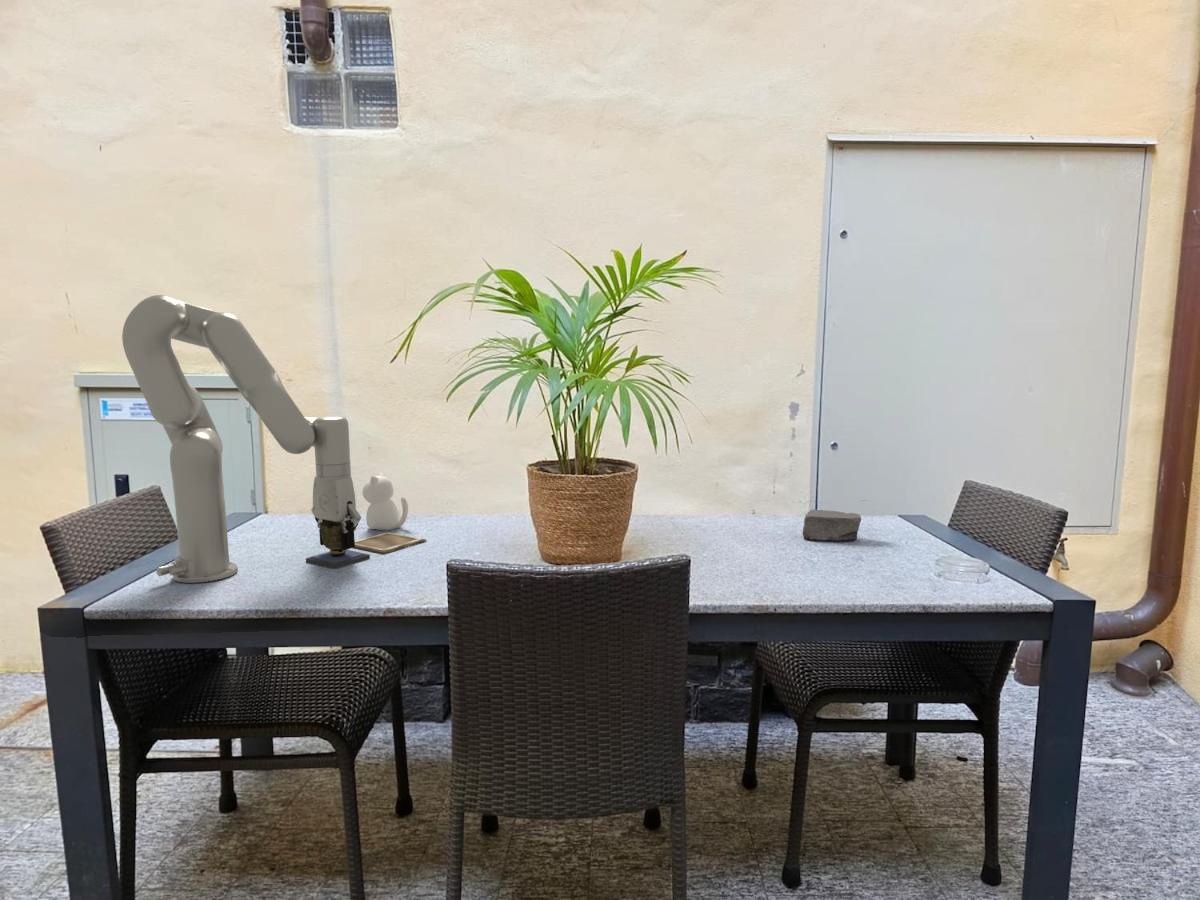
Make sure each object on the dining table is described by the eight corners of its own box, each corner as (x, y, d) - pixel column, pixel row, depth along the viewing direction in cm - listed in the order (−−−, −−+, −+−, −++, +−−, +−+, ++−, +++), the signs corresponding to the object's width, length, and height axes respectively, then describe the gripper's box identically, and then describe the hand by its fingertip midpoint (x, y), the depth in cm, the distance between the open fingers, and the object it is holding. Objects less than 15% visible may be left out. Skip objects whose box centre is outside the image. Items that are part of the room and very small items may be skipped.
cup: (359, 551, 183) (358, 518, 182) (346, 559, 176) (345, 525, 174) (329, 550, 184) (327, 517, 182) (315, 559, 176) (313, 524, 175)
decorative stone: (795, 535, 202) (806, 543, 193) (796, 509, 202) (807, 516, 192) (850, 535, 203) (865, 543, 193) (851, 509, 202) (866, 516, 192)
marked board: (383, 554, 184) (383, 551, 184) (344, 545, 192) (344, 543, 192) (426, 541, 196) (426, 538, 196) (388, 534, 204) (388, 531, 203)
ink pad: (334, 568, 173) (334, 563, 173) (306, 562, 178) (305, 557, 178) (369, 558, 181) (369, 553, 181) (341, 552, 186) (341, 547, 186)
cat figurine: (371, 524, 215) (369, 470, 213) (415, 525, 213) (413, 471, 211) (357, 532, 206) (355, 476, 204) (403, 533, 204) (400, 477, 202)
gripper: (295, 469, 178) (299, 544, 181) (345, 476, 169) (349, 555, 171) (322, 465, 184) (326, 537, 187) (372, 471, 175) (375, 548, 178)
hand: (337, 545), depth 179 cm, fingers closed on cup, 7 cm apart
